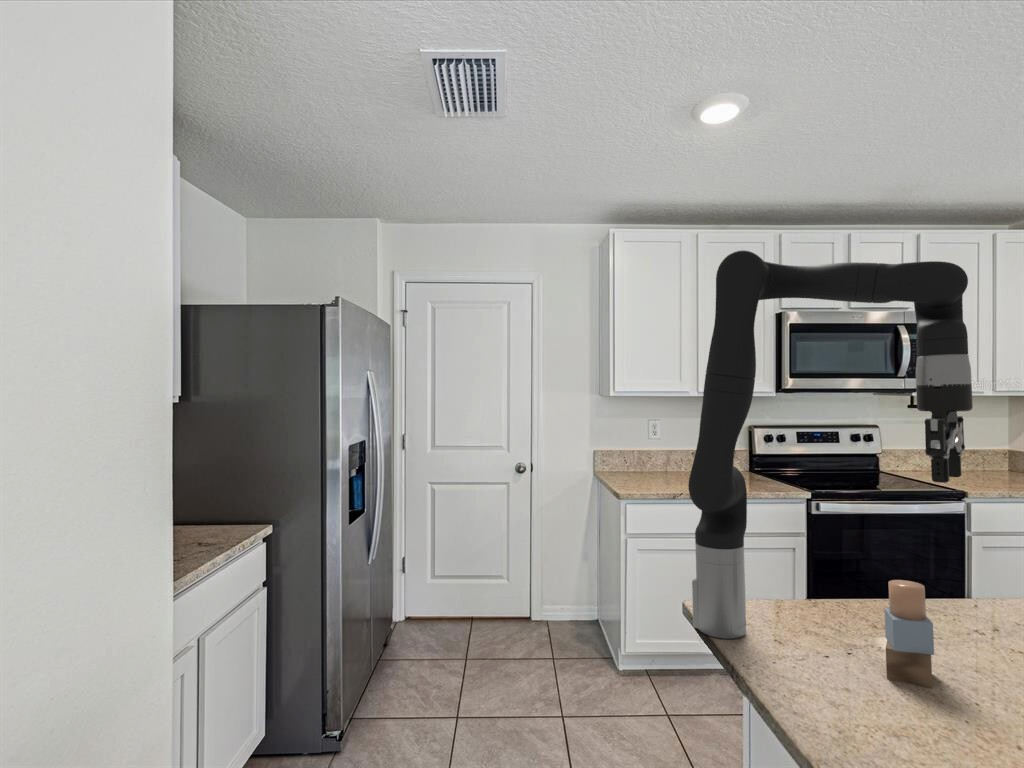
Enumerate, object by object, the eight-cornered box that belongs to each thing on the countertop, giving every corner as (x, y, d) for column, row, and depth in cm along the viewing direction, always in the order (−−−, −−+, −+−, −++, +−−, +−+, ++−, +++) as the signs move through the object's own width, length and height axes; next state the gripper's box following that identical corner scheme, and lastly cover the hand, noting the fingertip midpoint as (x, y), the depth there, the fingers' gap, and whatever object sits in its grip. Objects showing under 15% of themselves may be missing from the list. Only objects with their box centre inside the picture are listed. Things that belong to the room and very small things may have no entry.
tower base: (886, 678, 96) (885, 647, 96) (889, 665, 100) (887, 635, 101) (931, 688, 92) (930, 656, 92) (931, 674, 97) (930, 643, 97)
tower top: (893, 650, 95) (892, 619, 95) (885, 637, 100) (884, 608, 100) (934, 655, 93) (932, 623, 93) (923, 641, 98) (922, 611, 98)
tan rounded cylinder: (885, 614, 97) (883, 584, 97) (895, 607, 100) (894, 578, 100) (920, 622, 93) (919, 591, 93) (930, 615, 96) (928, 584, 97)
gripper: (927, 383, 106) (931, 473, 105) (904, 383, 96) (908, 482, 96) (980, 382, 100) (984, 477, 99) (960, 381, 90) (965, 486, 90)
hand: (947, 479), depth 98 cm, fingers open, 8 cm apart
